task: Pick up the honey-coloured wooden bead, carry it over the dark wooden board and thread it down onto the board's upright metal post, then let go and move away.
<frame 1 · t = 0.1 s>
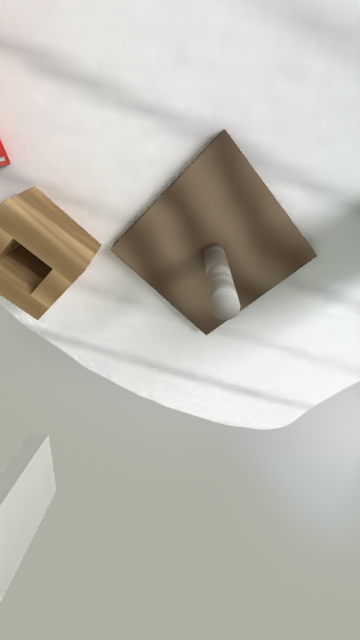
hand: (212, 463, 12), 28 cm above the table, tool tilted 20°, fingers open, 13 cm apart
bead: (48, 243, 36), on the table
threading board: (212, 248, 36), on the table
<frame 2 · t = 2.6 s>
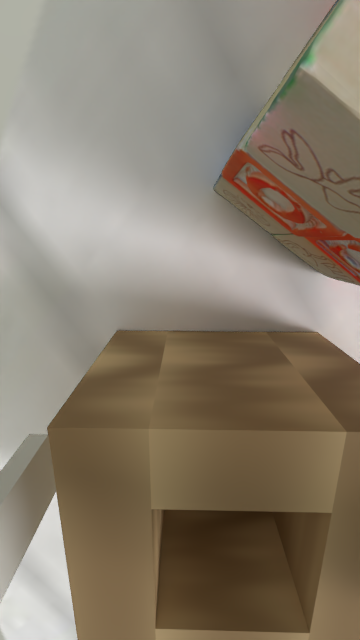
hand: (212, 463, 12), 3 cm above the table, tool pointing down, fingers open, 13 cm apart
bead: (213, 418, 15), on the table
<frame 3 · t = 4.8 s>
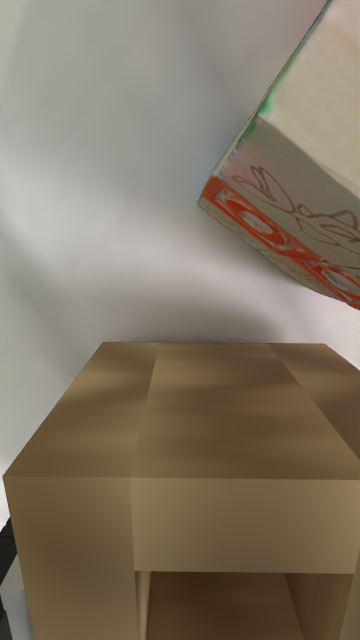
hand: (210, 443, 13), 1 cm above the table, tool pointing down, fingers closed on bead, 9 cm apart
bead: (209, 437, 13), point 1 cm above the table, touching gripper
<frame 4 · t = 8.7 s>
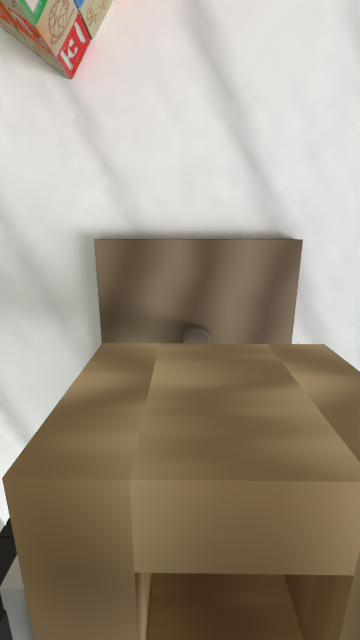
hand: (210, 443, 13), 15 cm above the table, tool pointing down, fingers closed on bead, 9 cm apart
bead: (209, 437, 13), point 15 cm above the table, touching gripper
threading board: (195, 332, 28), on the table
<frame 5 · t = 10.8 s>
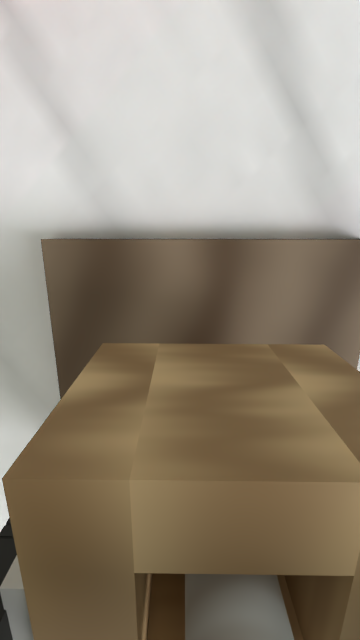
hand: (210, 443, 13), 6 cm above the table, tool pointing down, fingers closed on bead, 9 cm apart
bead: (209, 438, 13), point 6 cm above the table, touching gripper
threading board: (203, 379, 19), on the table
when the fingers open (3 cm above the table, at t = 12.5 s): bead drops 1 cm, resting on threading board.
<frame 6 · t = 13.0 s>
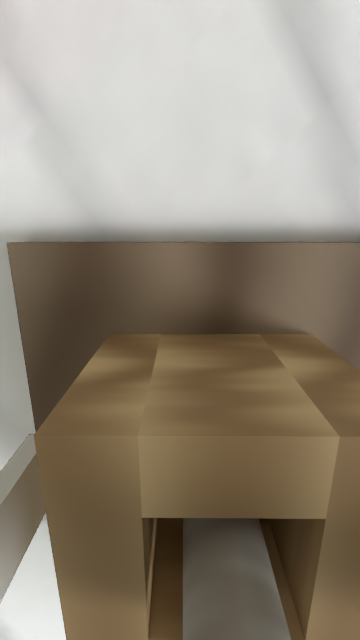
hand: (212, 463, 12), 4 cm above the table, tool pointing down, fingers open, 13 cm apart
bead: (207, 421, 14), point 1 cm above the table, touching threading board
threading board: (205, 405, 16), on the table
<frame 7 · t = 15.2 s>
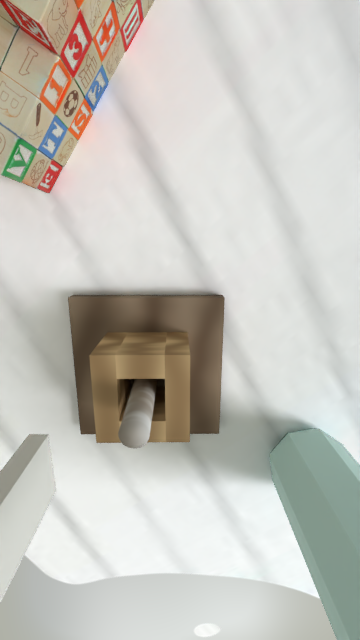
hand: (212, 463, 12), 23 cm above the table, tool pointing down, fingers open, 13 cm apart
bead: (148, 369, 34), point 1 cm above the table, touching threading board
stack of blocks: (75, 79, 29), on the table
water bottle: (302, 454, 39), on the table
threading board: (149, 364, 36), on the table
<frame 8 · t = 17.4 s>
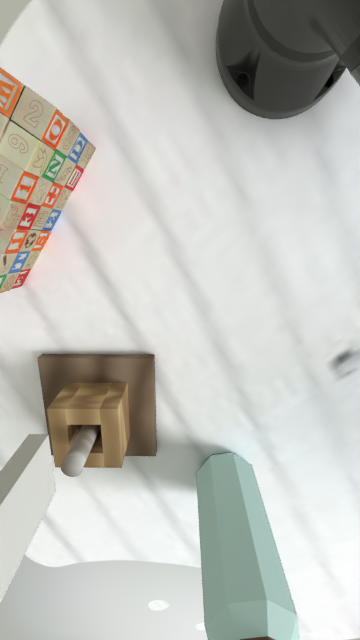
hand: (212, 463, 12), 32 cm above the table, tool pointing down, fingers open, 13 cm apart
bead: (99, 409, 46), point 1 cm above the table, touching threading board
stack of blocks: (37, 208, 40), on the table
water bottle: (224, 471, 51), on the table
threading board: (102, 404, 47), on the table
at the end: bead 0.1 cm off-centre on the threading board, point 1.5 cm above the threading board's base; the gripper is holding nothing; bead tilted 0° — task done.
